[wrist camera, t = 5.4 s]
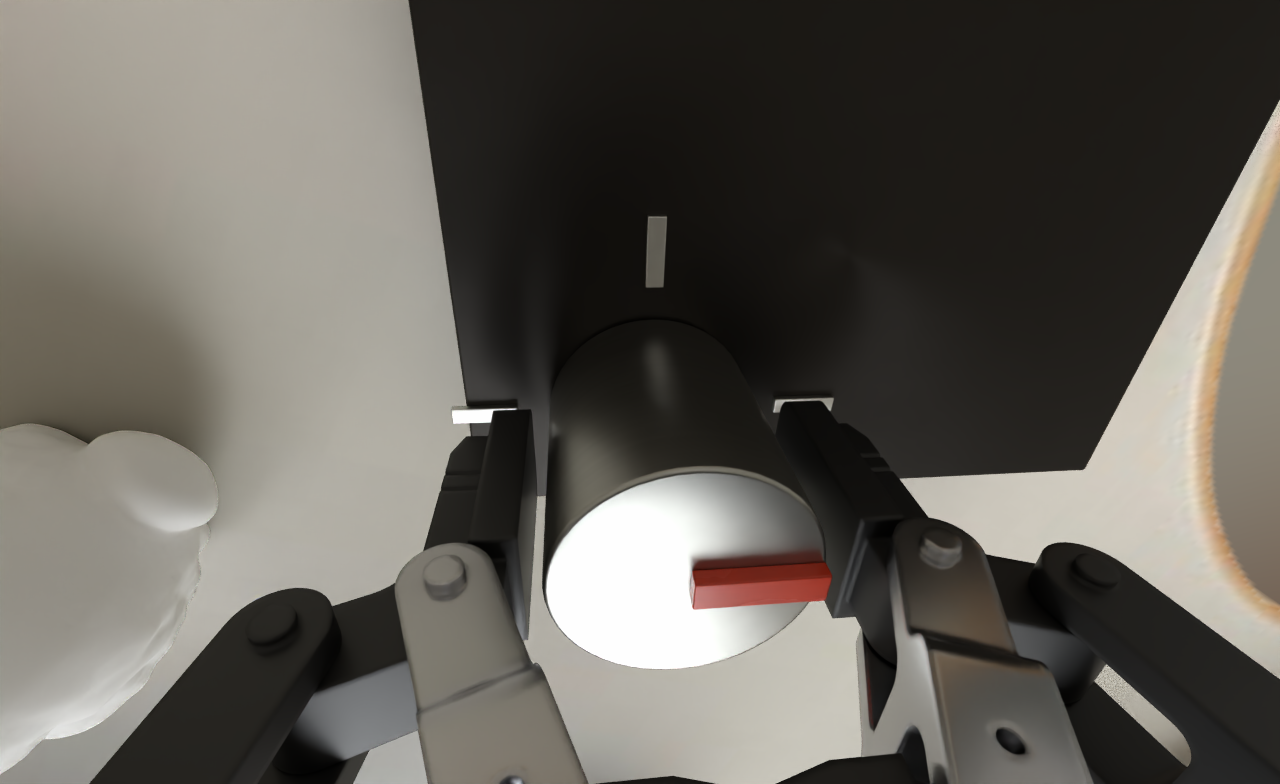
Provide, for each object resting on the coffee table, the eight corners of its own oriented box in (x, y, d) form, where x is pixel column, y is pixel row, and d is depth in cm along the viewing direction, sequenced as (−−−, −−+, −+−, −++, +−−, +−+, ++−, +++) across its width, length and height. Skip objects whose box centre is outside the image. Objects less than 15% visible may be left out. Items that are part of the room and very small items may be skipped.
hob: (488, 479, 18) (474, 559, 15) (410, -123, 11) (355, -179, 8) (993, 456, 19) (1062, 524, 17) (1216, -72, 12) (1400, -105, 10)
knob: (554, 488, 14) (549, 698, 10) (544, 319, 12) (531, 491, 7) (732, 479, 15) (807, 676, 10) (755, 316, 12) (865, 475, 8)
